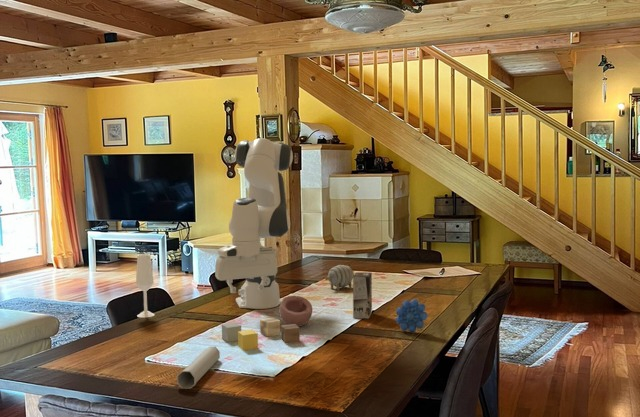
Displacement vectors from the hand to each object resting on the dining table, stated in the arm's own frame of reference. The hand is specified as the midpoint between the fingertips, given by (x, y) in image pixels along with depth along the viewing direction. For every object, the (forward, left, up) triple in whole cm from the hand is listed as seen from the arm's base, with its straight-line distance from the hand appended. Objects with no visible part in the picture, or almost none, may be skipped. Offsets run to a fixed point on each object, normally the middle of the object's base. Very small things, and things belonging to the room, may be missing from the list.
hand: (247, 291), depth 204 cm
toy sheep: (-66, +68, -19) cm, 97 cm away
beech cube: (-11, +12, -19) cm, 25 cm away
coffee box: (-18, +53, -19) cm, 59 cm away
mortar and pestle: (-16, +24, -19) cm, 34 cm away
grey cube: (-11, -2, -19) cm, 22 cm away
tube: (+17, -20, -19) cm, 32 cm away
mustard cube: (0, 0, -19) cm, 19 cm away
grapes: (+10, +57, -19) cm, 61 cm away
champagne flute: (-58, -22, -19) cm, 65 cm away
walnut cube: (0, +15, -19) cm, 24 cm away
